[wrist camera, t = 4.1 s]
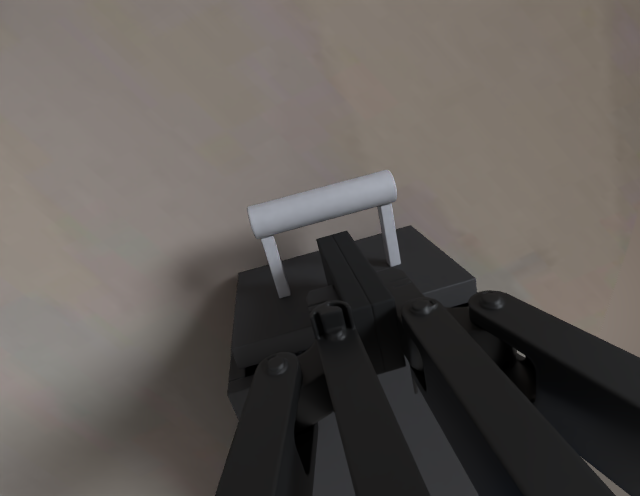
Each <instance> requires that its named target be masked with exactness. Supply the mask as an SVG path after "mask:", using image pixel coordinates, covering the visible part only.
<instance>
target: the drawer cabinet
mask: <svg viewBox="0 0 640 496" xmlns="http://www.w3.org/2000/svg"><path fill="white" fill-rule="evenodd" d="M456 307H468V303H465V304H461V305H458V306H454V307H451V308H456ZM404 357H405V355H404ZM405 362H406V366H405V367H402V368H399V369H395V370H392V371H389V372H386V373H382V374H379V375H377V377H378V379H379V381H380V383H381V386H382V388H383V390H384V392H385V395H386V397H387V399H388V401H389V404H390V406H391V408H392V410H393V413H394V415H395V417H396V419H397V422H398V424H399V426H400V428H401V431H402V433H403V435H404V437H405V440H406V442H407V444H408V446H409V449H410V451H411V453H412V455H413V457H414V460H415V462H416V464H417V466H418V469H419V471H420V473H421V475H422V478H423V480H424V482H425V484H426V487H427V489H428V491H429V493H430V496H479V495H478V493H477V491H476V490H475V488H474V486H473V484H472V482H471V481H470V479H469V477H468V475H467V474H466V472H465V470H464V468H463V466H462V465H461V463H460V461H459V459H458V458H457V456H456V454H455V452H454V450H453V449H452V447H451V445H450V443H449V442H448V440H447V438H446V436H445V434H444V433H443V431H442V429H441V427H440V426H439V424H438V422H437V420H436V418H435V417H434V415H433V413H432V411H431V410H430V408H429V406H428V404H427V402H426V401H425V399H424V397H423V395H422V393H421V392H420V390H419V388H418V387H417V389H418V394H415V392H414V388H413V382H412V376H411V370H410V364H409V362H408V360H407V358H406V357H405ZM258 365H259V364H256V365H253V366H250V367H246V368H243V369H239V368H238V366H237V363H236V361H235V358H234V356H233V353H232V351H231V362H230V372H229V383H228V393H227V395H228V397H229V399H230V402H231V404H232V406H233V409H234V411H235V413H236V416H237V418H238V420H240V417H241V414H242V410H243V407H244V404H245V401H246V398H247V395H248V392H249V389H250V386H251V383H252V380H253V376H254V373H255V370H256V368H257V366H258ZM318 427H319V429H318V440H317V451H316V462H315V473H314V484H313V495H312V496H356V495H355V491H354V487H353V483H352V480H351V476H350V472H349V468H348V464H347V460H346V456H345V452H344V448H343V444H342V440H341V436H340V433H339V429H338V425H337V421H336V417H335V413H334V412H332V413H331V414H329V415H328V416H326V417H325V418H323V419H322V420H320V421H318Z"/></svg>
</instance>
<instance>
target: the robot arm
mask: <svg viewBox="0 0 640 496" xmlns="http://www.w3.org/2000/svg"><path fill="white" fill-rule="evenodd" d="M316 240H317V244H318V248H319V252H320V256H321V260H322V264H323V268H324V272H325V276H326V280H327V284H328V286H325V287H322V288H318V289H315V290H311V291H309V293H308V295H307V297H306V301H307V305H308V309H309V313H310V321H311V325H312V328H313V332H314V335H315V340H314V343H313V344H312V346H311V347H310V348H309V349H308V350H307V351H305V352H304V353H302V354H300V355H299V356H297V357H296V356H295V354H293V353H290V352H278V353H274V354H271V355H270V356H268V357H266V358H265V359H263V360H262V361H261V362H260V363H259V365H258V366H257V368H256V370H255V373H254V376H253V380H252V383H251V386H250V389H249V392H248V395H247V398H246V401H245V404H244V407H243V410H242V414H241V417H240V420H239V423H238V426H237V429H236V432H235V435H234V438H233V441H232V444H231V447H230V451H229V454H228V457H227V460H226V463H225V466H224V469H223V472H222V475H221V478H220V481H219V485H218V488H217V491H216V494H215V496H312V495H313V484H314V473H315V462H316V451H317V440H318V429H319V427H318V421H320V420H322V419H323V418H325V417H326V416H328V415H329V414H331V413H332V412H334V413H335V417H336V421H337V425H338V429H339V433H340V436H341V440H342V444H343V448H344V452H345V456H346V460H347V464H348V468H349V472H350V476H351V480H352V483H353V487H354V491H355V495H356V496H430V493H429V491H428V489H427V487H426V484H425V482H424V480H423V478H422V475H421V473H420V471H419V469H418V466H417V464H416V462H415V460H414V457H413V455H412V453H411V451H410V449H409V446H408V444H407V442H406V440H405V437H404V435H403V433H402V431H401V428H400V426H399V424H398V422H397V419H396V417H395V415H394V413H393V410H392V408H391V406H390V404H389V401H388V399H387V397H386V395H385V392H384V390H383V388H382V386H381V383H380V381H379V379H378V377H377V375H379V374H382V373H386V372H389V371H392V370H395V369H399V368H402V367H405V366H406V362H405V357H406V358H407V360H408V362H409V364H410V370H411V376H412V382H413V388H414V392H415V394H418V389H417V387H418V388H419V390H420V392H421V393H422V395H423V397H424V399H425V401H426V402H427V404H428V406H429V408H430V410H431V411H432V413H433V415H434V417H435V418H436V420H437V422H438V424H439V426H440V427H441V429H442V431H443V433H444V434H445V436H446V438H447V440H448V442H449V443H450V445H451V447H452V449H453V450H454V452H455V454H456V456H457V458H458V459H459V461H460V463H461V465H462V466H463V468H464V470H465V472H466V474H467V475H468V477H469V479H470V481H471V482H472V484H473V486H474V488H475V490H476V491H477V493H478V495H479V496H616V495H615V494H614V493H613V492H612V491H611V490H610V489H609V488H608V487H607V486H606V484H605V483H604V482H603V481H602V480H601V479H600V478H599V477H598V476H597V475H596V473H595V472H594V471H593V470H592V469H591V468H590V467H589V466H588V465H587V463H586V462H585V461H584V460H583V459H585V460H586V461H587V462H589V463H590V464H591V465H592V466H594V467H595V468H596V469H597V470H599V471H600V472H601V473H602V474H604V475H605V476H606V477H608V478H609V479H610V480H611V481H613V482H614V483H615V484H616V485H618V486H619V487H620V488H622V489H623V490H624V491H625V492H627V493H628V494H629V495H631V496H640V358H639V357H637V356H635V355H633V354H631V353H629V352H627V351H625V350H623V349H621V348H618V347H616V346H614V345H612V344H610V343H608V342H606V341H604V340H602V339H600V338H598V337H596V336H594V335H592V334H590V333H587V332H585V331H583V330H581V329H579V328H577V327H575V326H573V325H571V324H569V323H567V322H565V321H563V320H561V319H558V318H556V317H554V316H552V315H550V314H548V313H546V312H544V311H542V310H540V309H538V308H536V307H534V306H531V305H529V304H527V303H525V302H523V301H521V300H519V299H517V298H515V297H513V296H511V295H509V294H506V293H503V292H500V291H482V292H479V293H476V294H474V295H473V296H471V297H470V299H469V301H468V307H456V308H446V307H444V306H443V305H442V304H441V303H440V302H439V301H437V300H436V299H432V298H429V297H425V296H424V295H423V294H422V293H421V291H420V290H419V289H418V288H417V287H416V286H415V285H414V283H412V281H411V280H410V279H409V278H408V277H407V275H406V274H405V273H404V272H403V271H402V270H400V269H398V268H395V267H393V266H392V267H389V268H385V269H382V270H378V271H375V270H374V269H373V267H372V266H371V264H370V263H369V261H368V260H367V259H366V257H365V256H364V254H363V253H362V252H361V250H360V249H359V247H358V246H357V244H356V243H355V242H354V240H353V239H352V237H351V236H350V234H349V233H348V232H347V231H344V232H341V233H337V234H333V235H330V236H326V237H322V238H319V239H316ZM517 350H518V351H519V352H521V353H523V354H524V355H525V356H526V358H525V357H523V356H521V355H519V354H518V353H517ZM404 355H405V357H404ZM580 456H581V457H582V458H583V459H582V458H581V457H580Z"/></svg>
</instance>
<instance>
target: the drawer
mask: <svg viewBox="0 0 640 496" xmlns="http://www.w3.org/2000/svg"><path fill="white" fill-rule="evenodd" d="M396 199H397V189H396V184H395V181H394V178H393V176H392V174H391V172H390V171H389V170H383V171H380V172H376V173H372V174H368V175H365V176H361V177H357V178H353V179H350V180H346V181H342V182H339V183H335V184H331V185H327V186H324V187H320V188H316V189H312V190H309V191H305V192H301V193H297V194H294V195H290V196H286V197H282V198H279V199H275V200H271V201H267V202H264V203H260V204H256V205H252V206H249V207H248V208H247V211H248V216H249V220H250V224H251V227H252V230H253V233H254V235H255V237H256V239H259V238H261V241H262V244H263V247H264V251H265V254H266V257H267V260H268V263H269V265H266V266H262V267H259V268H255V269H252V270H248V271H244V272H241V273H239V274H238V284H237V294H236V304H235V314H234V324H233V334H232V344H231V351H232V353H233V356H234V358H235V361H236V363H237V366H238V368H239V369H243V368H246V367H250V366H253V365H256V364H259V363H260V362H261V361H262V360H263V359H265V358H266V357H268V356H270V355H271V354H274V353H278V352H290V353H293V354H295V356H296V357H297V356H299V355H300V354H302V353H304V352H305V351H307V350H308V349H309V348H310V347H311V346H312V344H313V343H314V340H315V335H314V332H313V328H312V325H311V321H310V313H309V309H308V305H307V301H306V297H307V295H308V293H309V291H311V290H315V289H318V288H322V287H325V286H328V284H327V280H326V276H325V272H324V268H323V264H322V260H321V256H320V252H319V251H316V252H313V253H309V254H306V255H302V256H298V257H295V258H291V259H288V260H284V261H281V259H280V256H279V252H278V249H277V246H276V242H275V239H274V236H273V235H274V234H278V233H281V232H285V231H289V230H292V229H296V228H300V227H303V226H307V225H311V224H314V223H318V222H322V221H325V220H329V219H333V218H336V217H340V216H344V215H347V214H351V213H355V212H358V211H362V210H366V209H369V208H373V207H378V213H379V219H380V225H381V230H382V233H381V234H378V235H374V236H371V237H367V238H363V239H360V240H356V241H354V242H355V243H356V244H357V246H358V247H359V249H360V250H361V252H362V253H363V254H364V256H365V257H366V259H367V260H368V261H369V263H370V264H371V266H372V267H373V269H374V270H375V271H378V270H382V269H385V268H389V267H392V266H393V267H395V268H398V269H400V270H402V271H403V272H404V273H405V274H406V275H407V277H408V278H409V279H410V280H411V281H412V283H414V285H415V286H416V287H417V288H418V289H419V290H420V291H421V293H422V294H423V295H424V296H425V297H429V298H432V299H436V300H437V301H439V302H440V303H441V304H442V305H443V306H444V307H446V308H451V307H454V306H458V305H461V304H465V303H468V301H469V299H470V297H471V296H473V295H474V294H476V293H477V288H476V278H475V277H473V276H472V275H471V274H470V273H469V272H467V271H466V270H465V269H464V268H462V267H461V266H460V265H459V264H458V263H456V262H455V261H454V260H453V259H451V258H450V257H449V256H448V255H446V254H445V253H444V252H443V251H442V250H440V249H439V248H438V247H437V246H435V245H434V244H433V243H432V242H431V241H429V240H428V239H427V238H426V237H424V236H423V235H422V234H421V233H419V232H418V231H417V230H416V229H415V228H413V227H412V226H407V227H403V228H399V229H395V222H394V216H393V210H392V204H391V202H395V201H396Z"/></svg>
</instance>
